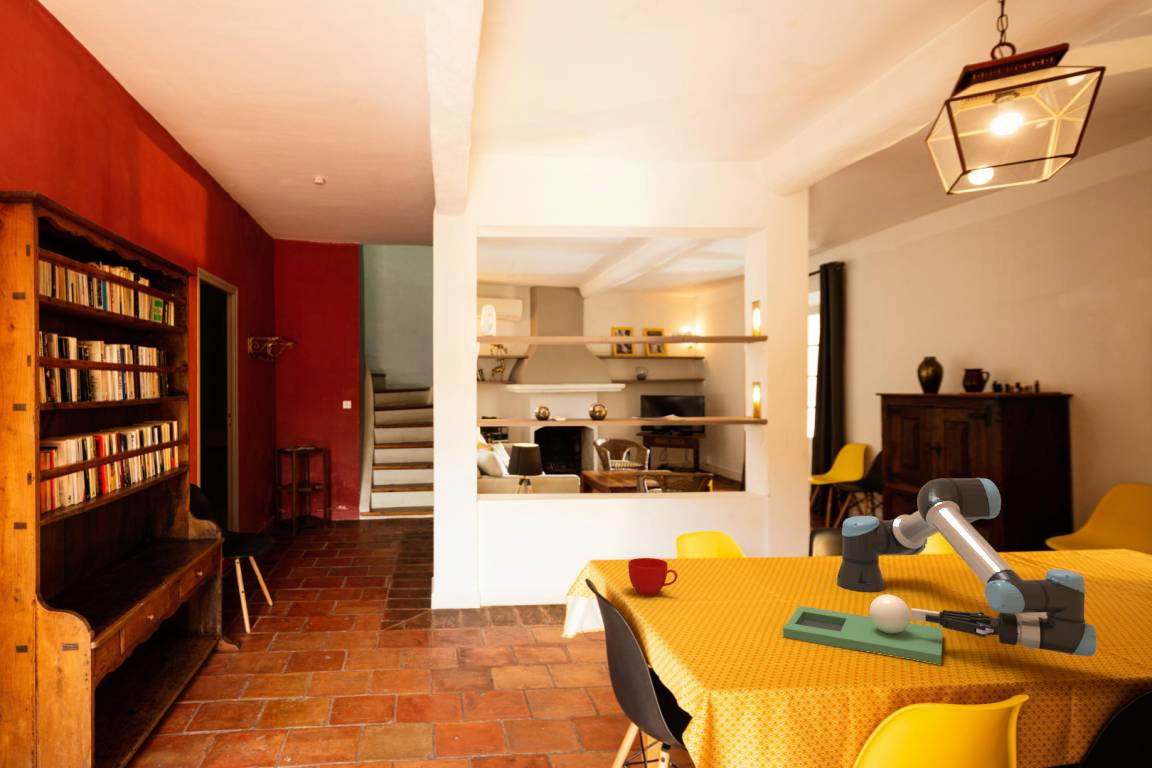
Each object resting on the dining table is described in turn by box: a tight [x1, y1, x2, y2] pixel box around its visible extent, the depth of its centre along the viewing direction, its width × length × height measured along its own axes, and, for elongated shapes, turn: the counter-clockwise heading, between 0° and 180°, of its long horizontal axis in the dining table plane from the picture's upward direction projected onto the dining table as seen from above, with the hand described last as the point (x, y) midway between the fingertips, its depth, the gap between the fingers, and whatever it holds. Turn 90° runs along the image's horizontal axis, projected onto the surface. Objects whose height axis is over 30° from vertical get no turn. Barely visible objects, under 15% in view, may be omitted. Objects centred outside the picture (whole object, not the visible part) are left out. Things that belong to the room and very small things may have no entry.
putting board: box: [782, 605, 944, 665], centre depth 187 cm, size 38×22×2 cm, turn 61°
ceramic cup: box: [627, 557, 678, 597], centre depth 225 cm, size 13×17×10 cm
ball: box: [869, 593, 911, 634], centre depth 183 cm, size 10×10×10 cm
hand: (911, 614), depth 180 cm, fingers closed
